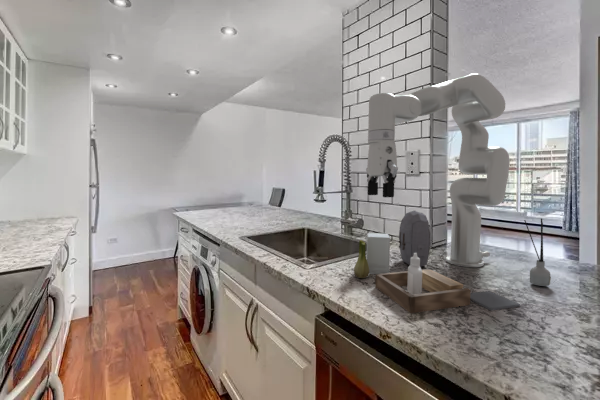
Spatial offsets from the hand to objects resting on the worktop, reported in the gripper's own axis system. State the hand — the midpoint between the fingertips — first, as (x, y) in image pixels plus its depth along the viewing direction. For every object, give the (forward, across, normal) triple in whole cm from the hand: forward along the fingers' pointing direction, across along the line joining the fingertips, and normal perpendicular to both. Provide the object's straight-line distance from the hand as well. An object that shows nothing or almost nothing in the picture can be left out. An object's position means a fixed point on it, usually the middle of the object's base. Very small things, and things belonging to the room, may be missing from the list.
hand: (380, 196), depth 89 cm
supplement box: (+27, +11, -5) cm, 30 cm away
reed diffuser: (+27, -12, -45) cm, 54 cm away
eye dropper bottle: (+27, -11, -5) cm, 30 cm away
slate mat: (+27, -18, -22) cm, 39 cm away
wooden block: (+27, -11, -13) cm, 32 cm away
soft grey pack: (+27, +16, -21) cm, 38 cm away
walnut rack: (+27, -11, -7) cm, 30 cm away
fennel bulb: (+27, +7, +3) cm, 28 cm away
